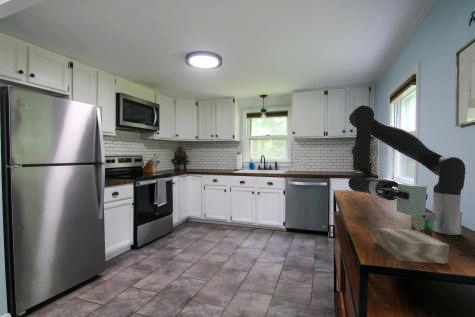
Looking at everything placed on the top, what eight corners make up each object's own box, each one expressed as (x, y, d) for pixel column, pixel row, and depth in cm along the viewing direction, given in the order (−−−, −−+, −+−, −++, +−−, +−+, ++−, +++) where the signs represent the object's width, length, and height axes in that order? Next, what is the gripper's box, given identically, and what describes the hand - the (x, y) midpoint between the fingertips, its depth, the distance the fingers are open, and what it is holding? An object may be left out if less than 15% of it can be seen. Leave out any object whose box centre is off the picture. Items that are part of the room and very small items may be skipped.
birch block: (415, 246, 90) (416, 230, 90) (447, 264, 75) (449, 245, 75) (376, 244, 91) (376, 227, 91) (400, 261, 76) (401, 242, 76)
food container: (442, 241, 95) (444, 216, 95) (424, 240, 97) (426, 214, 96) (425, 232, 107) (426, 209, 107) (409, 230, 109) (410, 208, 108)
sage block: (412, 211, 86) (413, 184, 85) (425, 215, 80) (426, 186, 80) (396, 210, 85) (398, 183, 85) (408, 215, 80) (410, 185, 80)
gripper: (366, 178, 96) (396, 184, 80) (402, 180, 97) (439, 186, 80) (365, 197, 97) (395, 207, 80) (401, 198, 97) (437, 208, 81)
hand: (417, 196), depth 80 cm, fingers closed on sage block, 5 cm apart
